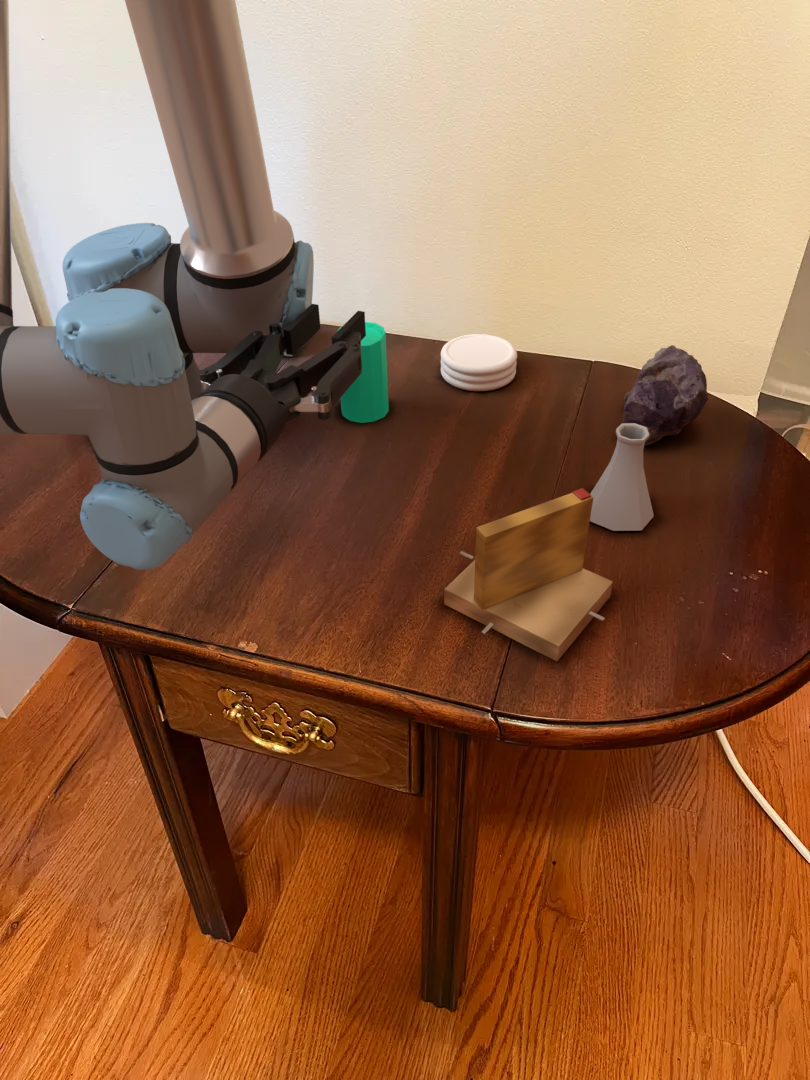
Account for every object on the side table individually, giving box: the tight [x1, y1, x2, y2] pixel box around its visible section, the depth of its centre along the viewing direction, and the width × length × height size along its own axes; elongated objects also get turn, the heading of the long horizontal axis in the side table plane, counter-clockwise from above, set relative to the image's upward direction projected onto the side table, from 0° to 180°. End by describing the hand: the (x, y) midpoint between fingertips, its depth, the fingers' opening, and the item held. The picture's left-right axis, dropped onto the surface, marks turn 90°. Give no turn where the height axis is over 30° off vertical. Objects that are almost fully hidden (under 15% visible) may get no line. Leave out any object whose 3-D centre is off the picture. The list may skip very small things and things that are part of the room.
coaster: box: [440, 333, 518, 392], centre depth 110 cm, size 10×10×4 cm
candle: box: [338, 321, 390, 424], centre depth 101 cm, size 6×6×12 cm
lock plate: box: [443, 550, 614, 662], centre depth 77 cm, size 15×15×2 cm
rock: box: [621, 344, 709, 446], centre depth 98 cm, size 12×9×10 cm
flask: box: [589, 423, 655, 532], centre depth 85 cm, size 7×7×10 cm
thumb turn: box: [474, 487, 593, 610], centre depth 74 cm, size 11×2×9 cm, turn 118°
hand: (338, 319), depth 89 cm, fingers open, 5 cm apart
